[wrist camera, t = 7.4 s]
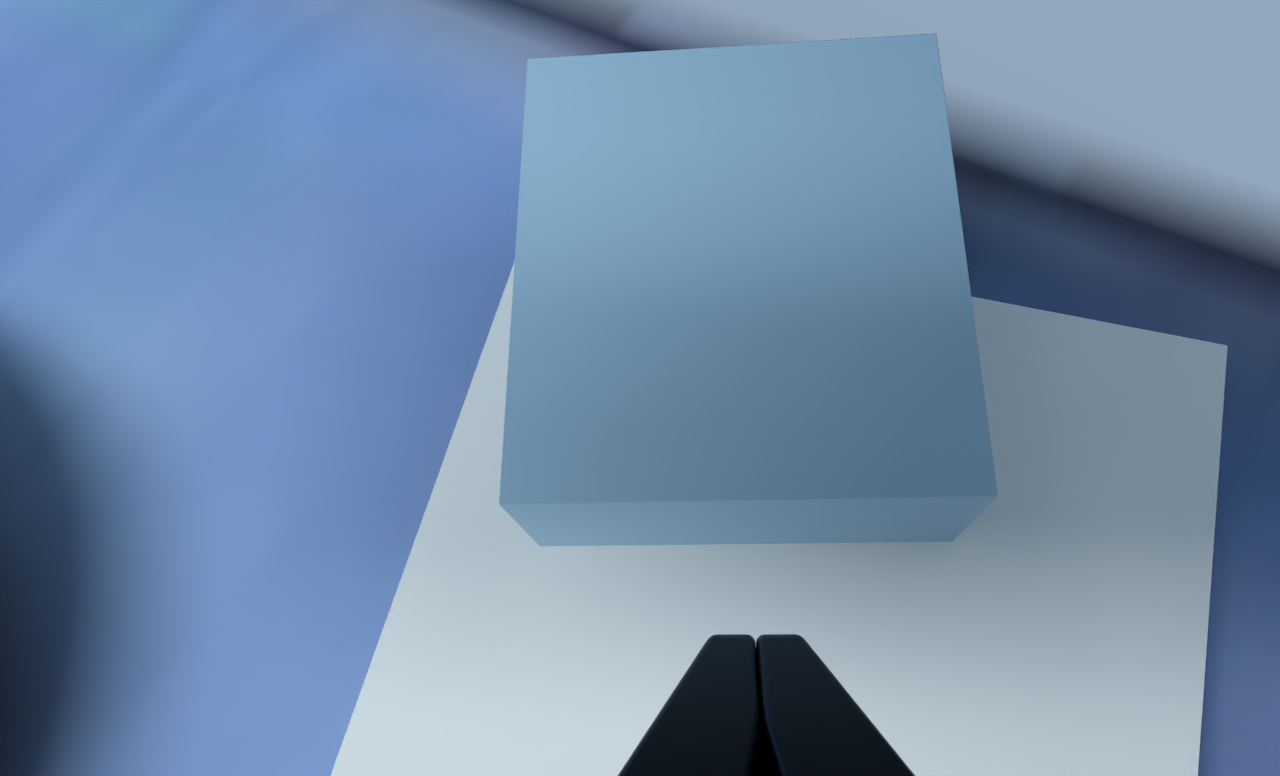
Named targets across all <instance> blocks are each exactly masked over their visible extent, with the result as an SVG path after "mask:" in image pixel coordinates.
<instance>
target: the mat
mask: <svg viewBox="0 0 1280 776" xmlns="http://www.w3.org/2000/svg"><path fill="white" fill-rule="evenodd" d="M514 264H515V262H514ZM514 264H513V267H512V270H511V273H510V276H509V278H508V281H507V284H506V287H505V290H504V292H503V295H502V298H501V301H500V304H499V306H498V309H497V312H496V315H495V318H494V320H493V323H492V326H491V329H490V331H489V334H488V337H487V340H486V343H485V345H484V348H483V351H482V354H481V357H480V359H479V362H478V365H477V368H476V371H475V373H474V376H473V379H472V382H471V385H470V387H469V390H468V393H467V396H466V399H465V401H464V404H463V407H462V410H461V413H460V415H459V418H458V421H457V424H456V427H455V429H454V432H453V435H452V438H451V440H450V443H449V446H448V449H447V452H446V454H445V457H444V460H443V463H442V466H441V468H440V471H439V474H438V477H437V480H436V482H435V485H434V488H433V491H432V494H431V496H430V499H429V502H428V505H427V508H426V510H425V513H424V516H423V519H422V522H421V524H420V527H419V530H418V533H417V536H416V538H415V541H414V544H413V547H412V549H411V552H410V555H409V558H408V561H407V563H406V566H405V569H404V572H403V575H402V577H401V580H400V583H399V586H398V589H397V591H396V594H395V597H394V600H393V603H392V605H391V608H390V611H389V614H388V617H387V619H386V622H385V625H384V628H383V631H382V633H381V636H380V639H379V642H378V644H377V647H376V650H375V653H374V656H373V658H372V661H371V664H370V667H369V670H368V672H367V675H366V678H365V681H364V684H363V686H362V689H361V692H360V695H359V698H358V700H357V703H356V706H355V709H354V712H353V714H352V717H351V720H350V723H349V726H348V728H347V731H346V734H345V737H344V740H343V742H342V745H341V748H340V751H339V753H338V756H337V759H336V762H335V765H334V767H333V770H332V773H331V776H618V774H619V773H620V771H621V770H622V768H623V767H624V765H625V764H626V762H627V761H628V759H629V758H630V756H631V755H632V753H633V751H634V750H635V748H636V747H637V745H638V744H639V742H640V741H641V739H642V738H643V736H644V735H645V733H646V732H647V730H648V729H649V727H650V726H651V724H652V723H653V721H654V720H655V718H656V717H657V715H658V714H659V712H660V711H661V709H662V708H663V706H664V704H665V703H666V701H667V700H668V698H669V697H670V695H671V694H672V692H673V691H674V689H675V688H676V686H677V685H678V683H679V682H680V680H681V679H682V677H683V676H684V674H685V673H686V671H687V670H688V668H689V667H690V665H691V664H692V662H693V661H694V659H695V658H696V656H697V654H698V653H699V651H700V650H701V648H702V647H703V645H704V644H705V642H706V641H707V640H708V638H709V637H711V636H712V635H716V634H748V635H751V636H752V637H753V638H754V639H755V643H756V640H757V638H758V637H759V636H760V635H763V634H797V635H800V636H801V637H803V638H804V639H805V640H806V642H807V643H808V644H809V645H810V646H811V648H812V649H813V650H814V651H815V653H816V654H817V655H818V656H819V658H820V659H821V660H822V661H823V662H824V664H825V665H826V666H827V667H828V669H829V670H830V671H831V672H832V674H833V675H834V676H835V677H836V679H837V680H838V681H839V682H840V683H841V685H842V686H843V687H844V688H845V690H846V691H847V692H848V693H849V695H850V696H851V697H852V698H853V700H854V701H855V702H856V703H857V704H858V706H859V707H860V708H861V709H862V711H863V712H864V713H865V714H866V716H867V717H868V718H869V719H870V720H871V722H872V723H873V724H874V725H875V727H876V728H877V729H878V730H879V732H880V733H881V734H882V735H883V737H884V738H885V739H886V740H887V741H888V743H889V744H890V745H891V746H892V748H893V749H894V750H895V751H896V753H897V754H898V755H899V756H900V758H901V759H902V760H903V761H904V762H905V764H906V765H907V766H908V767H909V769H910V770H911V771H912V772H913V774H914V775H915V776H1198V765H1199V751H1200V736H1201V722H1202V707H1203V693H1204V679H1205V664H1206V650H1207V635H1208V621H1209V606H1210V592H1211V578H1212V563H1213V549H1214V534H1215V520H1216V505H1217V491H1218V477H1219V462H1220V448H1221V433H1222V419H1223V405H1224V390H1225V376H1226V361H1227V347H1228V345H1223V344H1217V343H1212V342H1207V341H1202V340H1197V339H1191V338H1186V337H1181V336H1176V335H1170V334H1165V333H1160V332H1155V331H1150V330H1144V329H1139V328H1134V327H1129V326H1123V325H1118V324H1113V323H1108V322H1102V321H1097V320H1092V319H1087V318H1082V317H1076V316H1071V315H1066V314H1061V313H1055V312H1050V311H1045V310H1040V309H1035V308H1029V307H1024V306H1019V305H1014V304H1008V303H1003V302H998V301H993V300H988V299H982V298H977V297H972V296H971V297H972V304H973V312H974V319H975V327H976V335H977V342H978V350H979V357H980V365H981V372H982V380H983V387H984V395H985V402H986V410H987V417H988V425H989V432H990V440H991V447H992V455H993V462H994V470H995V477H996V485H997V492H998V497H997V498H996V499H995V500H994V501H993V502H992V503H990V504H989V505H988V506H987V507H986V508H985V509H984V510H983V511H982V512H981V513H980V514H979V515H978V516H977V517H976V518H975V519H974V520H973V521H972V522H971V523H970V524H969V525H968V526H967V527H966V528H965V529H964V530H963V531H962V532H961V533H960V534H959V535H958V536H957V537H956V538H955V539H954V540H953V541H952V542H870V543H787V544H703V545H620V546H539V545H538V544H537V543H536V542H535V541H534V540H533V539H532V538H531V537H530V536H529V535H528V534H527V533H526V531H525V530H524V529H523V528H522V527H521V526H520V525H519V524H518V523H517V522H516V521H515V520H514V519H513V518H512V517H511V516H510V515H509V514H508V513H507V512H506V511H505V510H504V509H503V508H502V507H501V506H500V505H499V497H500V481H501V466H502V450H503V435H504V419H505V403H506V388H507V372H508V357H509V341H510V326H511V310H512V295H513V279H514Z"/></svg>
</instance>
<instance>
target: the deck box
mask: <svg viewBox="0 0 1280 776" xmlns="http://www.w3.org/2000/svg"><path fill="white" fill-rule="evenodd" d="M997 497H998V492H997V485H996V477H995V470H994V462H993V455H992V447H991V440H990V432H989V425H988V417H987V410H986V402H985V395H984V387H983V380H982V372H981V365H980V357H979V350H978V342H977V335H976V327H975V319H974V312H973V304H972V297H971V289H970V282H969V274H968V267H967V259H966V252H965V244H964V237H963V229H962V222H961V214H960V207H959V199H958V192H957V184H956V177H955V169H954V162H953V154H952V147H951V139H950V132H949V124H948V117H947V109H946V102H945V94H944V87H943V79H942V72H941V64H940V57H939V49H938V42H937V35H936V34H921V35H905V36H889V37H873V38H856V39H843V40H842V39H840V40H824V41H808V42H792V43H776V44H760V45H744V46H728V47H712V48H696V49H680V50H664V51H648V52H632V53H616V54H600V55H584V56H568V57H552V58H536V59H528V62H527V77H526V93H525V108H524V124H523V139H522V155H521V170H520V186H519V202H518V217H517V233H516V248H515V264H514V279H513V295H512V310H511V326H510V341H509V357H508V372H507V388H506V403H505V419H504V435H503V450H502V466H501V481H500V497H499V505H500V506H501V507H502V508H503V509H504V510H505V511H506V512H507V513H508V514H509V515H510V516H511V517H512V518H513V519H514V520H515V521H516V522H517V523H518V524H519V525H520V526H521V527H522V528H523V529H524V530H525V531H526V533H527V534H528V535H529V536H530V537H531V538H532V539H533V540H534V541H535V542H536V543H537V544H538V545H539V546H620V545H703V544H787V543H870V542H952V541H953V540H954V539H955V538H956V537H957V536H958V535H959V534H960V533H961V532H962V531H963V530H964V529H965V528H966V527H967V526H968V525H969V524H970V523H971V522H972V521H973V520H974V519H975V518H976V517H977V516H978V515H979V514H980V513H981V512H982V511H983V510H984V509H985V508H986V507H987V506H988V505H989V504H990V503H992V502H993V501H994V500H995V499H996V498H997Z"/></svg>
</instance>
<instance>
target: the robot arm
mask: <svg viewBox="0 0 1280 776" xmlns="http://www.w3.org/2000/svg"><path fill="white" fill-rule="evenodd" d="M618 776H915V775H914V774H913V772H912V771H911V770H910V769H909V767H908V766H907V765H906V764H905V762H904V761H903V760H902V759H901V758H900V756H899V755H898V754H897V753H896V751H895V750H894V749H893V748H892V746H891V745H890V744H889V743H888V741H887V740H886V739H885V738H884V737H883V735H882V734H881V733H880V732H879V730H878V729H877V728H876V727H875V725H874V724H873V723H872V722H871V720H870V719H869V718H868V717H867V716H866V714H865V713H864V712H863V711H862V709H861V708H860V707H859V706H858V704H857V703H856V702H855V701H854V700H853V698H852V697H851V696H850V695H849V693H848V692H847V691H846V690H845V688H844V687H843V686H842V685H841V683H840V682H839V681H838V680H837V679H836V677H835V676H834V675H833V674H832V672H831V671H830V670H829V669H828V667H827V666H826V665H825V664H824V662H823V661H822V660H821V659H820V658H819V656H818V655H817V654H816V653H815V651H814V650H813V649H812V648H811V646H810V645H809V644H808V643H807V642H806V640H805V639H804V638H803V637H801V636H800V635H797V634H763V635H760V636H759V637H758V638H757V640H756V643H755V639H754V638H753V637H752V636H751V635H748V634H716V635H712V636H711V637H709V638H708V640H707V641H706V642H705V644H704V645H703V647H702V648H701V650H700V651H699V653H698V654H697V656H696V658H695V659H694V661H693V662H692V664H691V665H690V667H689V668H688V670H687V671H686V673H685V674H684V676H683V677H682V679H681V680H680V682H679V683H678V685H677V686H676V688H675V689H674V691H673V692H672V694H671V695H670V697H669V698H668V700H667V701H666V703H665V704H664V706H663V708H662V709H661V711H660V712H659V714H658V715H657V717H656V718H655V720H654V721H653V723H652V724H651V726H650V727H649V729H648V730H647V732H646V733H645V735H644V736H643V738H642V739H641V741H640V742H639V744H638V745H637V747H636V748H635V750H634V751H633V753H632V755H631V756H630V758H629V759H628V761H627V762H626V764H625V765H624V767H623V768H622V770H621V771H620V773H619V774H618Z"/></svg>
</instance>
